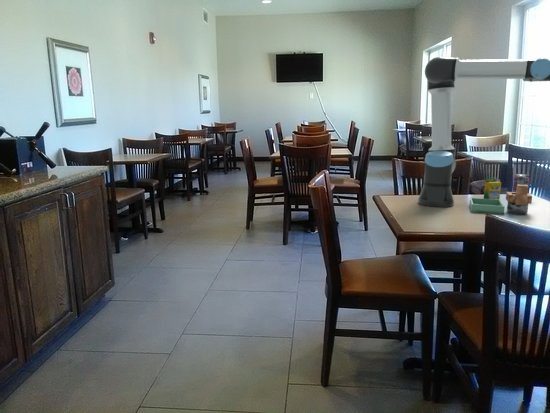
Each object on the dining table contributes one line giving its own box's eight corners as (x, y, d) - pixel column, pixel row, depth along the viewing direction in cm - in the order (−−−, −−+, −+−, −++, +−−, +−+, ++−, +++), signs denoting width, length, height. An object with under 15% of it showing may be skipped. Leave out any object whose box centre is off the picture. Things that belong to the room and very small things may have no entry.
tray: (470, 211, 192) (471, 204, 191) (469, 204, 208) (469, 197, 207) (503, 214, 188) (504, 206, 187) (499, 206, 204) (500, 199, 203)
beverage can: (528, 198, 225) (531, 174, 223) (527, 200, 219) (530, 175, 217) (512, 197, 229) (515, 173, 227) (510, 199, 223) (513, 174, 221)
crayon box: (488, 203, 211) (490, 178, 208) (482, 202, 213) (485, 177, 211) (499, 202, 213) (502, 177, 211) (494, 201, 216) (496, 177, 214)
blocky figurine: (507, 214, 188) (511, 175, 185) (505, 210, 195) (509, 173, 192) (528, 215, 186) (533, 176, 183) (525, 212, 193) (530, 174, 190)
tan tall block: (509, 204, 183) (511, 185, 181) (505, 198, 195) (507, 181, 193) (533, 205, 180) (535, 186, 179) (528, 200, 192) (530, 182, 190)
